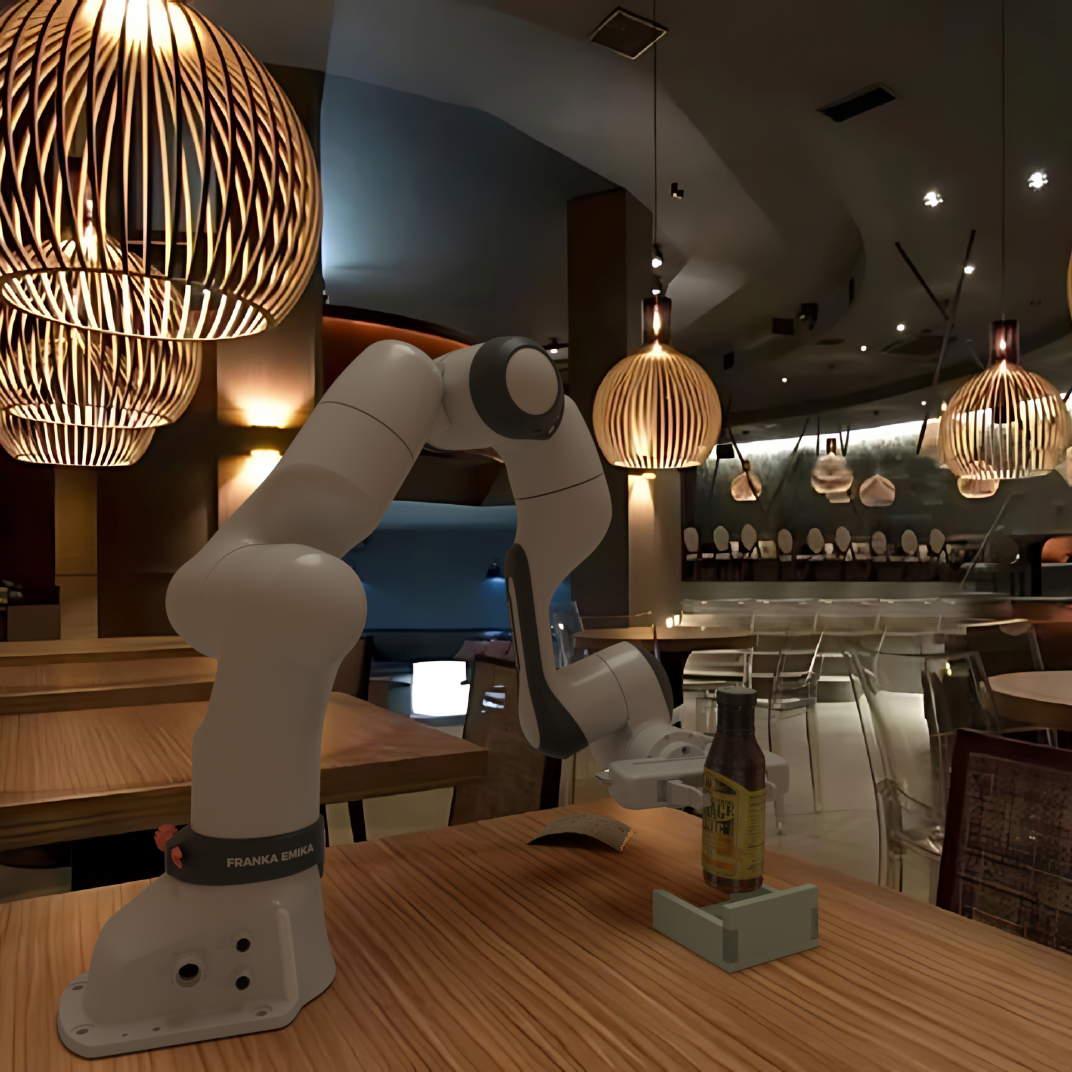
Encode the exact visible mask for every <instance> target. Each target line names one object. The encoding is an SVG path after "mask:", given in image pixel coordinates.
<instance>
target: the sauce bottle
mask: <svg viewBox="0 0 1072 1072" xmlns="http://www.w3.org/2000/svg"><path fill="white" fill-rule="evenodd" d="M715 701H716V705H717V711H716V714H717V717H716V718H717V719H716V723H717V724H716V731H715V732H714V733H715V735H714V738H713V741H712V744H711V747H710V750H709V752H708V755H707V758H706V761H705V764H704V771H703V788H706V789H707V790H710V792H711V795H712V798H711V800H710V801H711V802H712V806H711V808H707V809H702V821H701V823H702V824H701V825H702V826H701V859H700V860H701V861H700V862H701V866H702V877H703V881H704V883H705V884H706V885H707V886H708V887H711V888H713V889H716V890H717V891H720V892H723V893H727V894H730V893H747V892H753V891H756V890H757V889H759V888H760V887H761V886H762V883H764V877H763V874H764V873H765V848H766V845H765V842H766V808H767V807H766V803H767V802H766V784H765V768H766V764H765V762H766V761H765V756H764V754H763V752H762V750H761V748H762V747H761V746H760V744H759V743H758V741H757V738H756V727H755V726H756V725H755V713H756V712H755V711H756V709H755V708H756V706H757V703H758V691H757V690H756V689H753V688H752V687H745V686H736V685H735V686H731V685H729V686H728V685H727V686H719V687H718V688H717V689H716V692H715Z"/></svg>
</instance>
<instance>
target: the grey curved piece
mask: <svg viewBox="0 0 1072 1072" xmlns="http://www.w3.org/2000/svg"><path fill="white" fill-rule="evenodd" d="M544 827H545V826H544ZM544 827H543V829H541V831H539V833H537V834H536V836H534V837H533V838H532V840H530V841H529V842H527V843H526V844H527V845H529V844H530V843H532V842H533V841H535V840H537V839H542V838H544V837H545V836H547V835H553V834H562V833H576V834H581V835H587V836H589V837H591V838H595V839H596V840H599V841H600V842H603V843H604V844H606V845H608V846H609V847H611V848H614V849H615V850H617V851H618V852H619V853H621V852H620V850H621V848H620V847H622V846H621V845H623V842H624V840H625V837H627V835H628V832H630V830H631V828H632V827H630V826H629V825H627V824H626V823H624V822H622V821H620V820H617V819H614V818H611V817H607V816H603V815H598V814H594V813H582V814H580V813H578V814H577V813H575V814H569V815H565V816H562V817H560V818H558V819H556V820H554V821H552V822H550V823H548V824H547V825H546V827H545V828H544Z"/></svg>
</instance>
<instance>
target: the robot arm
mask: <svg viewBox="0 0 1072 1072" xmlns="http://www.w3.org/2000/svg"><path fill="white" fill-rule="evenodd" d="M561 376H562V375H561V374H560V371H559V369H558V367H557V364H556V363H555V361H554V360H553V358H552V357H551V355H550V353H549V352H548V350H546V349H545V348H544V347H543V346H542V345H541V344H540V343H539V342H537V341H535V340H534V339H532V338H529V337H525V336H518V335H509V336H508V335H507V336H498V337H494V338H491V339H489V340H488V341H486V342H483V343H478V344H473V345H470V346H466V347H461V348H457V349H454V350H452V351H450V352H448V353H445V354H443V355H441V356H438V357H436V358H434V359H432V358H431V357H430V356H429V355H428V354H427V353H426V352H425V351H423V350H422V349H420V348H418V347H417V346H415V345H413V344H411V343H409V342H405V341H403V340H397V339H383V340H379V341H376V342H374V343H371V344H370V345H369V346H367V347H366V348H364V350H363V351H361V353H360V354H359V355H357V356H356V357H355V358H354V359H353V360H352V361H351V362H350V364H349V365H347V367H346V368H345V369H343V371H342V372H341V373H340V375H338V376H337V378H336V379H335V380H334V381H333V383H332V384H331V385H330V387H328V389H327V390H326V392H325V393H324V394H323V396H322V398H320V400H319V402H318V403H317V404H316V406H315V407H314V409H313V411H312V412H311V414H310V415H309V416H308V418H307V420H306V421H305V423H303V425H302V426H301V428H300V430H299V432H298V433H297V434H296V436H295V437H294V439H293V440H292V441H291V443H290V444H289V446H288V448H287V449H286V450H285V452H283V453H284V454H283V455H282V457H281V458H280V459H279V461H278V463H277V464H276V465H275V466H274V467H273V469H272V470H271V471H270V473H269V474H268V475H267V477H266V478H265V479H264V480H263V481H262V482H261V483H260V484H259V485H258V486H257V488H255V490H254V491H253V492H252V493H251V494H250V495H249V496H247V498H246V499H245V500H244V501H243V502H242V504H241V505H239V507H238V508H237V509H236V510H235V511H234V512H233V513H232V514H231V515H230V516H229V517H228V518H227V519H226V521H225V522H224V523H223V524H222V525H221V526H220V528H219V529H218V530H217V531H215V533H214V534H213V535H212V537H211V538H210V539H209V540H208V541H207V543H206V544H205V545H204V546H203V547H202V548H201V549H200V550H199V551H198V552H197V553H196V554H194V555H193V556H192V557H191V558H190V559H189V560H188V561H187V562H185V563H184V564H182V565H181V566H180V567H179V568H178V569H177V570H176V571H175V573H174V574H173V576H172V578H171V580H170V581H169V583H168V585H167V589H166V594H165V610H166V615H167V616H166V617H167V619H168V621H169V623H170V625H171V627H172V629H173V630H174V631H175V633H176V634H177V635H178V636H179V637H180V638H181V639H182V640H183V641H184V642H185V643H186V644H188V645H189V646H190V647H191V648H193V649H194V650H195V651H196V652H198V653H199V654H202V655H204V656H206V657H209V658H212V659H216V660H217V661H216V670H215V671H216V672H215V676H214V681H213V684H212V685H213V686H212V690H211V692H210V693H211V695H210V698H209V701H208V704H207V708H206V712H205V714H204V716H203V719H202V721H201V722H200V724H199V725H198V727H197V728H196V730H195V732H194V734H193V737H192V742H191V785H190V786H191V795H190V796H191V797H190V799H191V800H190V804H191V805H190V822H189V823H188V824H187V825H185V826H184V827H182V828H180V830H178V828H176V826H175V825H174V824H170V823H168V824H166V823H165V824H162V825H161V826H159V827H158V830H156V831H155V833H154V834H155V835H154V836H153V838H154V842H155V843H156V846H157V849H158V850H160V851H161V852H164V870H165V872H164V873H162V874H161V875H160V876H159V877H157V878H156V879H155V880H154V881H152V882H151V883H150V884H149V885H148V886H146V888H144V889H143V890H142V891H141V892H139V893H138V894H136V896H134V897H133V898H132V899H131V900H130V901H128V902H127V903H126V904H125V905H123V906H122V907H121V908H120V909H119V910H117V911H116V912H115V913H113V915H111V916H110V917H109V918H108V919H107V921H106V922H105V923H104V924H103V926H102V928H101V930H100V932H99V935H98V937H97V940H96V942H95V946H94V948H93V952H92V955H91V961H90V965H89V968H88V970H87V971H84V972H82V973H79V974H78V975H77V976H75V978H73V979H72V980H71V981H70V982H69V983H68V984H67V986H65V988H64V990H63V991H62V993H61V996H60V999H59V1002H58V1010H57V1017H56V1018H57V1020H56V1025H57V1031H58V1035H59V1037H60V1040H61V1041H62V1042H63V1045H65V1047H67V1048H68V1050H70V1051H72V1052H73V1053H74V1054H77V1055H78V1056H81V1057H84V1058H88V1059H89V1058H101V1057H107V1056H113V1055H120V1054H125V1053H130V1052H131V1053H132V1052H138V1051H144V1050H145V1051H146V1050H150V1049H157V1048H164V1047H169V1046H175V1045H181V1044H182V1045H183V1044H188V1043H194V1042H200V1041H201V1042H202V1041H206V1040H207V1041H208V1040H212V1039H219V1038H225V1037H231V1036H238V1035H244V1034H250V1033H256V1032H263V1031H268V1030H276V1029H280V1028H283V1027H286V1026H287V1025H289V1024H290V1023H291V1022H292V1021H293V1020H294V1019H295V1018H296V1017H297V1015H298V1013H299V1012H300V1010H301V1009H302V1007H303V1006H304V1005H306V1004H308V1003H309V1002H310V1001H312V1000H313V999H315V998H316V997H317V996H320V994H322V993H324V991H325V990H326V989H327V988H328V987H329V986H330V985H331V983H332V982H333V981H334V980H335V979H334V978H335V977H336V973H337V966H336V963H335V959H334V956H333V953H332V949H331V948H332V947H331V945H330V940H329V936H328V931H327V925H326V924H327V923H326V919H325V910H324V909H325V908H324V902H323V892H322V890H323V889H322V878H323V876H324V869H325V868H324V867H325V862H326V840H327V839H326V829H325V818H324V815H323V814H321V813H320V804H321V803H320V800H321V796H320V795H321V794H320V793H321V763H322V762H321V761H322V760H321V759H322V758H321V757H322V756H321V755H322V738H323V731H324V730H323V729H324V723H325V717H326V712H327V709H328V705H329V702H330V697H331V693H332V690H333V686H334V685H335V684H334V683H335V680H336V677H337V673H338V671H339V669H340V666H341V664H342V662H343V660H344V659H345V657H346V656H347V655H348V654H349V653H350V652H351V651H352V649H354V647H355V646H356V644H357V643H358V641H359V640H360V638H361V636H362V633H363V631H364V629H365V625H366V622H367V621H366V620H367V614H368V601H367V600H368V599H367V596H366V591H365V588H364V585H363V583H362V581H361V579H360V577H359V576H358V574H357V573H356V571H355V570H354V569H353V568H352V567H351V566H350V565H349V564H347V562H345V561H344V560H342V558H343V557H344V556H345V555H346V554H347V553H349V551H350V550H352V549H353V548H354V547H355V546H357V545H358V544H359V543H361V542H362V541H364V540H365V539H366V538H368V537H369V536H371V534H372V533H373V532H374V531H375V530H376V529H377V527H378V526H379V524H380V522H381V521H382V520H383V517H384V516H385V513H387V511H388V509H389V508H390V507H391V504H392V502H393V500H394V499H395V497H396V495H397V494H398V492H399V490H400V488H401V487H402V485H403V483H404V481H405V479H406V478H407V476H409V473H410V471H411V470H412V468H413V467H414V464H415V463H416V461H417V459H418V457H419V455H420V454H421V451H422V450H425V451H429V452H431V453H432V452H433V453H438V454H439V453H440V454H451V453H454V452H455V453H456V452H458V451H467V450H476V449H479V450H480V449H487V448H492V450H494V451H495V452H496V453H497V455H499V456H500V458H501V460H502V461H503V463H504V465H505V467H506V471H507V476H508V480H509V484H510V485H509V486H510V489H511V491H512V492H511V493H512V496H513V498H514V502H515V506H516V507H515V508H516V512H517V513H516V514H517V515H516V516H517V523H516V524H517V525H516V532H515V539H514V542H513V544H512V545H511V547H510V548H508V549H507V551H506V553H505V556H504V567H503V568H504V571H503V572H504V584H505V594H506V603H507V611H508V619H509V627H510V634H511V643H512V650H513V657H514V665H515V674H516V694H517V695H516V699H517V712H518V720H519V724H520V727H521V730H522V734H523V735H524V737H525V739H526V740H527V741H526V742H528V745H529V746H530V747H531V748H532V749H533V750H534V751H535V752H537V753H540V754H542V755H545V756H547V757H551V758H554V759H559V760H560V759H561V760H568V759H570V757H572V756H574V755H576V754H577V753H579V752H580V751H583V750H584V749H585V748H587V747H589V748H590V749H589V750H590V752H591V755H592V756H593V758H594V759H595V761H596V762H597V764H598V765H599V766H600V767H601V768H602V771H599V772H598V771H597V772H596V773H595V775H594V779H595V781H596V782H597V783H598V784H600V785H602V786H607V787H608V794H609V796H610V798H612V799H613V800H614V801H615V802H616V803H617V804H618V805H619V806H620V807H622V808H624V809H626V810H627V809H628V810H632V811H633V810H634V811H639V810H640V811H641V810H649V809H658V808H667V809H676V810H677V809H682V808H686V807H691V808H693V809H695V810H698V811H699V810H703V809H707V808H711V806H712V802H711V801H710V800H711V798H712V795H711V792H710V790H707V789H706V788H703V771H704V764H705V761H706V758H707V755H708V752H709V750H710V747H711V744H712V741H713V738H714V735H715V733H716V732H699V731H695V730H691V729H688V728H686V727H683V728H679V727H678V726H673V725H672V724H671V723H672V721H673V715H674V695H673V689H672V685H671V683H670V679H669V676H668V673H667V672H666V670H665V668H664V666H663V664H662V663H661V661H660V660H659V659H658V658H657V657H656V656H655V655H654V654H653V653H651V652H650V651H649V650H647V649H646V648H644V647H642V646H641V645H639V644H637V643H634V642H632V641H629V640H623V641H621V642H617V643H615V644H613V645H610V646H608V647H606V648H603V649H601V650H599V651H597V652H594V653H592V654H590V655H589V656H587V657H586V656H585V657H584V658H582V659H579V660H578V661H574V662H572V663H570V664H568V665H565V666H563V667H562V668H561V667H560V668H559V669H557V667H556V661H555V653H554V646H553V645H554V644H553V637H552V636H553V635H552V631H551V629H552V628H551V623H550V622H551V621H550V605H551V601H552V599H553V596H554V594H555V592H556V591H557V589H558V588H559V586H560V585H561V583H562V582H563V581H564V580H565V579H566V577H568V575H569V574H570V573H572V572H573V571H574V570H575V569H576V568H577V567H578V566H579V565H580V564H581V563H582V562H584V560H586V559H587V558H588V557H589V556H590V555H591V554H592V553H593V552H594V551H595V550H596V549H597V547H598V546H599V545H600V544H601V542H602V541H603V539H604V538H605V536H606V534H607V532H608V529H609V527H610V524H611V521H612V517H613V507H612V499H611V493H610V489H609V485H608V483H607V482H608V481H607V480H606V479H607V478H606V476H605V472H604V469H603V465H602V462H601V459H600V456H599V453H598V450H597V447H596V444H595V441H594V439H593V436H592V434H591V432H590V429H589V428H588V426H587V423H586V421H585V419H584V417H583V415H582V413H581V411H580V410H579V407H578V406H577V404H576V402H575V400H573V399H572V398H571V397H570V396H568V395H566V394H565V389H564V384H563V379H562V377H561ZM760 748H761V750H762V752H763V754H764V756H765V761H766V762H765V764H766V768H765V784H766V803H771V802H776V801H777V797H778V796H779V795H781V796H782V795H786V794H787V793H788V792H789V788H790V776H791V774H790V766H789V762H788V760H787V759H786V758H784V757H782V756H780V755H778V754H776V753H774V752H772V751H769V750H767V749H765V748H762V747H760Z"/></svg>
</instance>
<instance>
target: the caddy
mask: <svg viewBox="0 0 1072 1072" xmlns="http://www.w3.org/2000/svg"><path fill="white" fill-rule="evenodd" d="M652 928H653V929H654V930H657V931H658V932H659V933H662V934H663V935H665V936H666V937H668V938H669V939H671V940H673V941H675V942H677V943H679V944H680V945H682V946H683V947H686V948H687V949H689V950H690V951H692V952H693V953H695V954H697V955H699V956H700V957H702V958H703V959H705V960H706V961H709V962H711V963H712V964H713V965H714V966H715V965H716V966H717V967H719V968H720V969H722V970H724V971H725V972H727V973H729V974H732V973H735V972H738V971H742V970H746V969H748V968H751V967H755V966H758V965H761V964H762V965H763V964H764V963H769V962H771V961H774V960H778V959H781V958H785V957H788V956H790V955H795V954H797V953H801V952H805V951H808V950H810V949H814V948H817V947H819V886H818V885H815V884H813V883H806V884H801V885H798V886H794V887H789V888H786V889H779V888H776V887H775V886H774V887H773V886H772V885H769V884H767V883H765V882H763V883H762V886H761V887H760V888H759V889H757V890H756V891H753V892H747V893H729V900H727V901H723V902H718V903H715V904H710V905H709V904H708V905H706V906H702V907H701V906H700V907H697V906H695V905H693V904H691V903H690V902H687V901H685V900H684V899H681V898H680V897H678V896H676V895H674V894H672V893H670V892H668V891H666V890H665V889H662V888H657V889H656V888H655V889H652Z"/></svg>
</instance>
